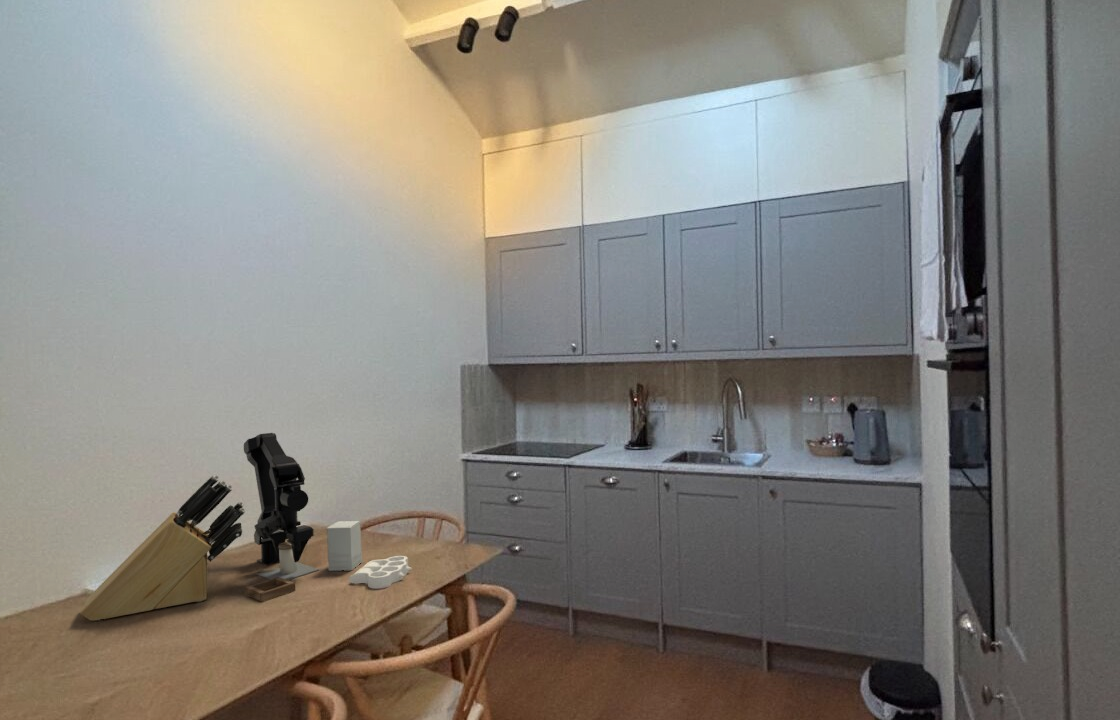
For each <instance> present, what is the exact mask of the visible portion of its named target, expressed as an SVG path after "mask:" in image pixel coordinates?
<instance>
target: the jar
mask: <svg viewBox="0 0 1120 720" xmlns="http://www.w3.org/2000/svg"><path fill="white" fill-rule="evenodd" d="M279 560H280V561H279V567H280V574H290V573H294V572H296V571H297V567H296V562H294V558H293V551H292V545H291V544H290V543H289V542H287V541H285V542H284V543H281V544H279Z"/></svg>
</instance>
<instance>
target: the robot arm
mask: <svg viewBox="0 0 1120 720" xmlns="http://www.w3.org/2000/svg"><path fill="white" fill-rule="evenodd" d="M243 452H244V454H246V459H247V461H248V462H249V463H250V464H251V465H252V466H253V467H254V473H255V478H256V480H255V481H256V485H257V492H258V498H259V503H260V509H261V513H260V514H259V517H258V519H257V524H254V529H255V531H254V534H253V540H254V543H255V544H256V545H258V546H260V551H261V558H258V559H257V560H256V563H260V564H261V565H266V566H269V565H272V564H276V563H280V560H279V544H281V543H284V542H289V543H290V544H291V545H292V551H293V558H294V562H298V563H299V561H300V559H301V557H302V554H303V552H304V551H305V547H306V546H307V544H308V542H309V541H310V539H312V537H314V536H315V534H314V533H315V530H314V528H313V527H312V526H309V525H305V524H303V525H301V521H300V520H298V512H300V511H302V510H303V509H305V508H306V506H307V505H308V503H309V496H308V493H307V492H306V491H304V490H302V485H303V486H304V485H305V480H306V478H305V475H304V472H303V470H302V467H301V466H300V464H299V462H297V460H296V459H295V458H294V457H292V456H289V455H287V454H286V452H285V451H284V450H283V448H282V446H281V444H280V443H279V441H278V439H277V434H276V433H273V432H267V433H266V432H265V433H259V434H256V436H254V437H251V438H248V439H247V440H246V441H245V442H244V444H243Z"/></svg>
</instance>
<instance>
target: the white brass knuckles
mask: <svg viewBox="0 0 1120 720" xmlns="http://www.w3.org/2000/svg"><path fill="white" fill-rule="evenodd" d="M412 569H413V567H410V566H409V558H408V557H407V556H406V555H396V556H395V555H394V556H390V557H388V558H384V559H373V560H370V561H368V562H367V563H365V565H363V566H362V567H360V568H358V570H357V571H356V572H354V573H352V574H351V575H350V576H349V577H348V578H349V579H348V581H349V582H350V583H351V584H353V583H367V584H366V585H367V586H368V588H370V589H384V588H387V587H388V588H389V587H391V585H392V584H393V583H397V582H400V581H401V580H402V579H403V577H406V575H408V572H409V571H411V570H412Z"/></svg>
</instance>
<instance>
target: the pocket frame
mask: <svg viewBox="0 0 1120 720" xmlns="http://www.w3.org/2000/svg"><path fill="white" fill-rule="evenodd" d="M244 590H245V596H248V597H251V598H252V599H255V600H258V601H260V602H265V601H269V600H271V599H275V598H277V597H281V596H283V595H286V594H289V593H292V592H295V591H296V582H293V581H291V580H285V579H282V578H280V577H276V578H273V579H266V580H264V581H260V582H257V583H254V584H251V585H247V586H245V588H244Z"/></svg>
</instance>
